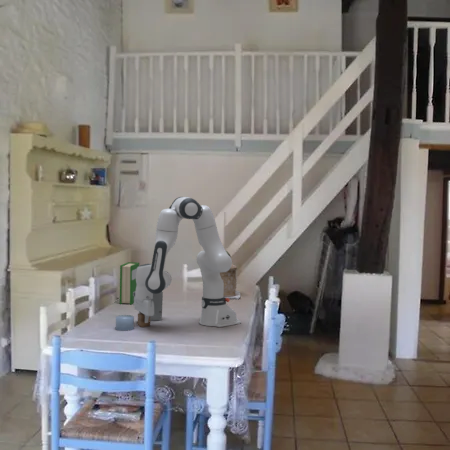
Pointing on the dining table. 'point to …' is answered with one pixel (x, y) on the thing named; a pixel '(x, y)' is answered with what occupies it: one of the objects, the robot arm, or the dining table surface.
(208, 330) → the dining table surface
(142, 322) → the walnut block
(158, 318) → the skincare box
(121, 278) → the hardback book
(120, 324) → the canister
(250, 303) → the dining table surface
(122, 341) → the dining table surface
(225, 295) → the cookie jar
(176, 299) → the dining table surface
